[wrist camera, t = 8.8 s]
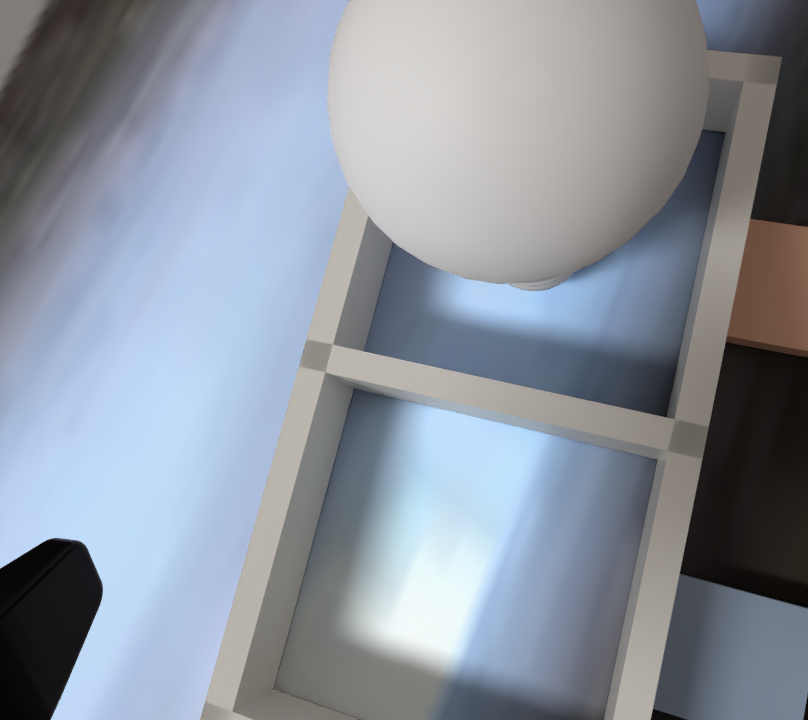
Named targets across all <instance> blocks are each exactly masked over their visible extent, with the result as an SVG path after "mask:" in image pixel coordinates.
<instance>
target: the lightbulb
mask: <svg viewBox="0 0 808 720" xmlns="http://www.w3.org/2000/svg"><path fill="white" fill-rule="evenodd" d="M708 96H709V72H708V53H707V42H706V34H705V31H704V27H703V24H702V21H701V17H700V14H699V10H698V7H697V3H696V1H695V0H349V2H348V4H347V6H346V8H345V11H344V13H343V15H342V17H341V19H340V21H339V23H338V26H337V30H336V34H335V38H334V42H333V45H332V49H331V53H330V63H329V81H328V100H327V108H328V114H329V121H330V127H331V134H332V139H333V143H334V147H335V152H336V155H337V158H338V160H339V163H340V166H341V168H342V171H343V173H344V176H345V179H346V181H347V184H348V186H349V187H350V189H351V190H352V192H353V193H354V195H355V196H356V198H357V199H358V201H359V202H360V204H361V205H362V207H363V208H364V210H365V211H366V213H367V214H368V215H369V217H370V218H371V220H372V221H373V222H374V224H375V225H376V226H378V227H379V228H380V229H381V230H382V231H383V232H384V233H385V234H386V235H387V236H388V237H389V238H390V239H391V240H392V241H393V242H394V243H395V244H396V245H397V246H399V247H400V248H402V249H404V250H405V251H407V252H408V253H410V254H412V255H413V256H415V257H416V258H418V259H420V260H421V261H423V262H424V263H426V264H429V265H431V266H433V267H436V268H438V269H441V270H444V271H447V272H449V273H452V274H455V275H457V276H460V277H463V278H466V279H471V280H477V281H483V282H490V283H496V284H509V285H511V286H512V287H515V288H518V289H521V290H526V291H542V290H547V289H551V288H553V287H555V286H558V285H560V284H561V283H563V282H564V281H566V280H567V279H568V278H569V277H570V276H571V275H572V274H573V273H574V272H575V271H577V270H580V269H582V268H584V267H587V266H589V265H591V264H594V263H596V262H598V261H600V260H601V259H603V258H604V257H606V256H607V255H609V254H610V253H612V252H613V251H615V250H616V249H618V248H619V247H621V246H622V245H624V244H625V243H627V242H628V241H629V240H630V239H631V238H632V237H633V236H635V235H636V234H637V233H638V232H639V231H640V230H641V229H642V228H643V227H644V226H645V225H646V224H647V223H648V222H649V221H650V220H651V219H652V218H653V217H654V216H655V215H656V214H657V213H658V212H659V211H660V210H661V209H662V208H663V207H664V205H665V204H666V202H667V201H668V199H669V198H670V196H671V195H672V194H673V192H674V191H675V189H676V188H677V186H678V185H679V183H680V182H681V180H682V179H683V177H684V175H685V173H686V170H687V168H688V166H689V163H690V161H691V158H692V156H693V154H694V151H695V149H696V146H697V144H698V141H699V138H700V135H701V132H702V128H703V124H704V118H705V113H706V107H707V102H708Z"/></svg>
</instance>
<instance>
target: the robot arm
mask: <svg viewBox="0 0 808 720" xmlns="http://www.w3.org/2000/svg"><path fill="white" fill-rule="evenodd" d="M102 595H103V586H102V582H101V579H100V577H99V574H98V572H97V570H96V568H95V565H94V563H93V561H92V558H91V556H90V554H89V551H88V549H87V547H86V546H85V545H84V544H83V543H82V542H80V541H77V540H69V539H61V538H53V539H49V540H47V541H45V542H43V543H41V544H40V545H38V546H36V547H35V548H33V549H31V550H30V551H28V552H27V553H25V554H23V555H22V556H20V557H18V558H17V559H15V560H14V561H12V562H10V563H9V564H7V565H5V566H4V567H2V568H1V569H0V720H51V718H52V716H53V713H54V711H55V709H56V707H57V705H58V702H59V700H60V698H61V696H62V693H63V691H64V689H65V686H66V684H67V682H68V679H69V677H70V675H71V672H72V670H73V667H74V665H75V663H76V660H77V658H78V656H79V653H80V651H81V649H82V646H83V644H84V642H85V639H86V637H87V634H88V632H89V630H90V627H91V625H92V623H93V620H94V618H95V616H96V613H97V611H98V608H99V606H100V603H101V600H102Z"/></svg>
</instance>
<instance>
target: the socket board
mask: <svg viewBox="0 0 808 720" xmlns="http://www.w3.org/2000/svg"><path fill="white" fill-rule="evenodd" d="M707 53H708V72H709V96H708V102H707V107H706V113H705V118H704V124H703V128H702V129H704V130H713V131H721V132H725V137H724V142H723V146H722V151H721V156H720V161H719V166H718V171H717V175H716V180H715V185H714V190H713V195H712V200H711V204H710V209H709V214H708V219H707V224H706V229H705V233H704V238H703V243H702V248H701V253H700V258H699V262H698V267H697V272H696V277H695V282H694V287H693V291H692V296H691V301H690V306H689V311H688V316H687V320H686V325H685V330H684V335H683V340H682V345H681V349H680V354H679V359H678V364H677V369H676V374H675V378H674V383H673V388H672V393H671V398H670V403H669V407H668V412H667V417H662V416H657V415H652V414H648V413H643V412H639V411H634V410H630V409H625V408H620V407H616V406H611V405H607V404H602V403H598V402H593V401H588V400H584V399H579V398H575V397H570V396H566V395H561V394H556V393H552V392H547V391H543V390H538V389H534V388H529V387H524V386H520V385H515V384H511V383H506V382H501V381H497V380H492V379H488V378H483V377H479V376H474V375H469V374H465V373H460V372H456V371H451V370H447V369H442V368H437V367H433V366H428V365H424V364H419V363H415V362H410V361H405V360H401V359H396V358H392V357H387V356H382V355H378V354H373V353H369V352H364V349H365V345H366V341H367V338H368V334H369V330H370V327H371V323H372V319H373V315H374V312H375V308H376V304H377V300H378V297H379V293H380V289H381V285H382V282H383V278H384V274H385V271H386V267H387V263H388V259H389V256H390V252H391V248H392V244H393V241H392V240H391V239H390V238H389V237H388V236H387V235H386V234H385V233H384V232H383V231H382V230H381V229H380V228H379V227H378V226H376V225H375V224H374V222H373V221H372V220H371V218H370V217H369V215H368V214H367V213H366V211H365V210H364V208H363V207H362V205H361V204H360V202H359V201H358V199H357V198H356V196H355V195H354V193H353V192H352V190H351V189H350V187H349V189H348V193H347V196H346V200H345V204H344V207H343V211H342V214H341V218H340V221H339V225H338V229H337V232H336V236H335V239H334V243H333V246H332V250H331V254H330V257H329V261H328V264H327V268H326V271H325V275H324V279H323V282H322V286H321V289H320V293H319V297H318V300H317V304H316V307H315V311H314V314H313V318H312V322H311V325H310V329H309V332H308V336H307V339H306V343H305V347H304V350H303V354H302V357H301V361H300V364H299V368H298V372H297V375H296V379H295V382H294V386H293V390H292V393H291V397H290V400H289V404H288V407H287V411H286V415H285V418H284V422H283V425H282V429H281V432H280V436H279V440H278V443H277V447H276V450H275V454H274V457H273V461H272V465H271V468H270V472H269V475H268V479H267V483H266V486H265V490H264V493H263V497H262V500H261V504H260V508H259V511H258V515H257V518H256V522H255V525H254V529H253V533H252V536H251V540H250V543H249V547H248V550H247V554H246V558H245V561H244V565H243V568H242V572H241V576H240V579H239V583H238V586H237V590H236V593H235V597H234V601H233V604H232V608H231V611H230V615H229V618H228V622H227V626H226V629H225V633H224V636H223V640H222V643H221V647H220V651H219V654H218V658H217V661H216V665H215V668H214V672H213V676H212V679H211V683H210V686H209V690H208V694H207V697H206V701H205V704H204V708H203V711H202V715H201V719H200V720H358V719H356V718H353V717H350V716H347V715H344V714H342V713H339V712H336V711H333V710H330V709H328V708H325V707H322V706H319V705H316V704H314V703H311V702H308V701H305V700H302V699H300V698H297V697H294V696H291V695H288V694H286V693H283V692H280V691H277V690H274V685H275V681H276V677H277V674H278V670H279V666H280V662H281V659H282V655H283V651H284V648H285V644H286V640H287V636H288V633H289V629H290V625H291V621H292V618H293V614H294V610H295V606H296V603H297V599H298V595H299V592H300V588H301V584H302V580H303V577H304V573H305V569H306V565H307V562H308V558H309V554H310V550H311V547H312V543H313V539H314V536H315V532H316V528H317V524H318V521H319V517H320V513H321V509H322V506H323V502H324V498H325V494H326V491H327V487H328V483H329V480H330V476H331V472H332V468H333V465H334V461H335V457H336V453H337V450H338V446H339V442H340V438H341V435H342V431H343V427H344V424H345V420H346V416H347V412H348V409H349V405H350V401H351V397H352V394H353V390H354V389H358V390H362V391H366V392H371V393H375V394H379V395H384V396H388V397H392V398H396V399H401V400H405V401H409V402H414V403H418V404H422V405H426V406H431V407H435V408H439V409H444V410H448V411H452V412H456V413H461V414H465V415H469V416H474V417H478V418H482V419H486V420H491V421H495V422H499V423H504V424H508V425H512V426H516V427H521V428H525V429H529V430H534V431H538V432H542V433H546V434H551V435H555V436H559V437H564V438H568V439H572V440H576V441H581V442H585V443H589V444H594V445H598V446H602V447H606V448H611V449H615V450H619V451H624V452H628V453H632V454H636V455H641V456H645V457H649V458H654V459H658V461H657V465H656V470H655V475H654V480H653V485H652V490H651V494H650V499H649V504H648V509H647V514H646V519H645V523H644V528H643V533H642V538H641V543H640V548H639V552H638V557H637V562H636V567H635V572H634V577H633V581H632V586H631V591H630V596H629V601H628V606H627V610H626V615H625V620H624V625H623V630H622V635H621V639H620V644H619V649H618V654H617V659H616V664H615V668H614V673H613V678H612V683H611V688H610V692H609V697H608V702H607V707H606V712H605V717H604V720H651V715H652V710H653V709H655V710H659V711H662V712H665V713H668V714H671V715H674V716H677V717H681V718H684V719H687V720H803V718H804V712H805V706H806V700H807V695H808V608H806V607H803V606H799V605H795V604H792V603H788V602H784V601H781V600H777V599H773V598H769V597H766V596H762V595H758V594H755V593H751V592H747V591H743V590H740V589H736V588H732V587H729V586H725V585H721V584H717V583H714V582H710V581H706V580H703V579H699V578H695V577H692V576H688V575H684V574H680V569H681V564H682V559H683V554H684V549H685V544H686V539H687V534H688V529H689V524H690V519H691V514H692V509H693V504H694V499H695V494H696V489H697V484H698V479H699V474H700V469H701V464H702V458H703V453H704V448H705V443H706V438H707V433H708V428H709V423H710V418H711V413H712V408H713V403H714V398H715V393H716V388H717V383H718V378H719V373H720V368H721V363H722V358H723V353H724V348H725V343H726V342H728V343H733V344H738V345H744V346H749V347H754V348H760V349H765V350H770V351H775V352H781V353H786V354H791V355H797V356H802V357H807V358H808V227H803V226H796V225H789V224H782V223H776V222H769V221H762V220H755V219H750V217H751V212H752V207H753V202H754V197H755V192H756V186H757V181H758V176H759V171H760V166H761V161H762V156H763V151H764V146H765V141H766V136H767V131H768V126H769V121H770V116H771V111H772V106H773V101H774V96H775V91H776V86H777V81H778V76H779V71H780V66H781V61H782V57H777V56H766V55H755V54H745V53H734V52H723V51H713V50H707Z"/></svg>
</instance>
